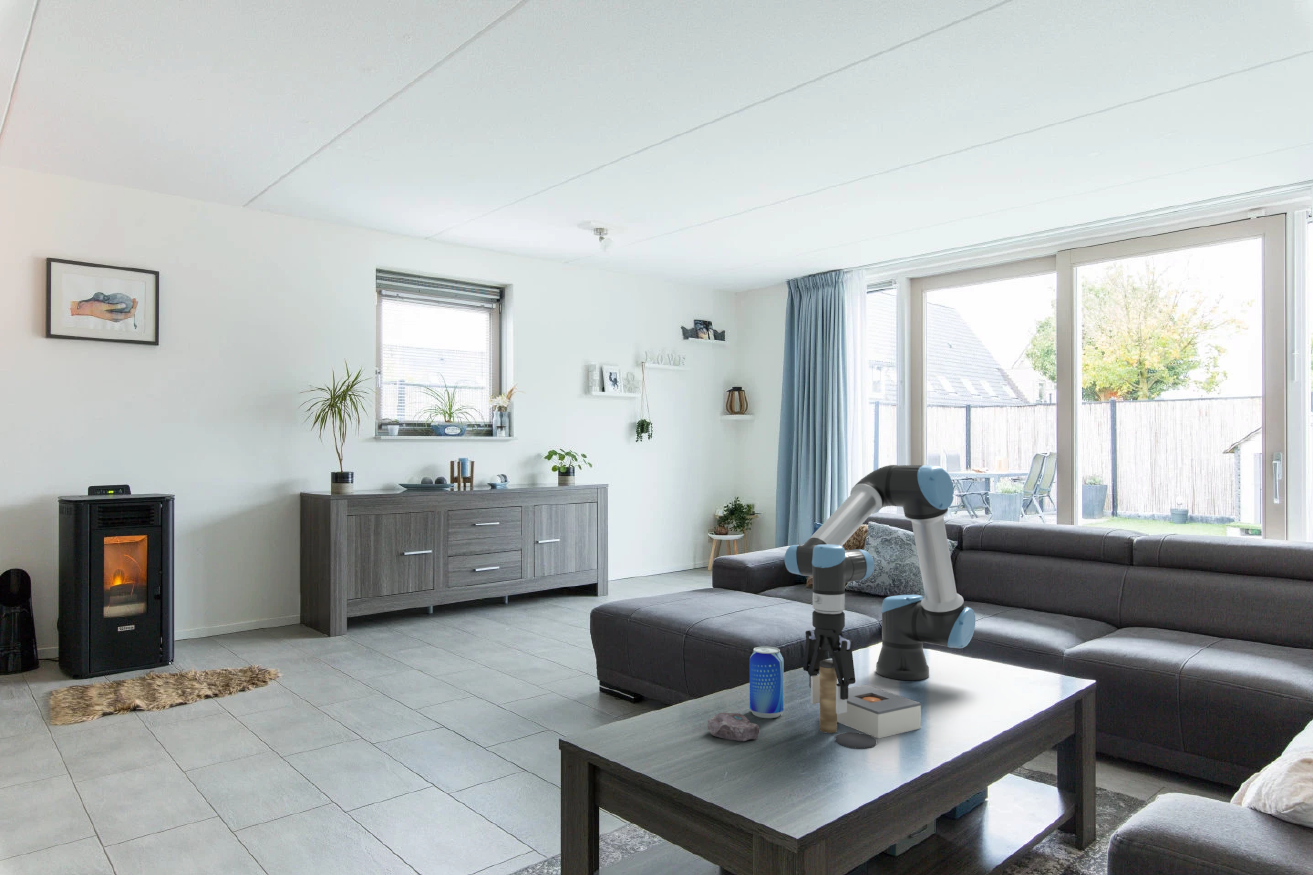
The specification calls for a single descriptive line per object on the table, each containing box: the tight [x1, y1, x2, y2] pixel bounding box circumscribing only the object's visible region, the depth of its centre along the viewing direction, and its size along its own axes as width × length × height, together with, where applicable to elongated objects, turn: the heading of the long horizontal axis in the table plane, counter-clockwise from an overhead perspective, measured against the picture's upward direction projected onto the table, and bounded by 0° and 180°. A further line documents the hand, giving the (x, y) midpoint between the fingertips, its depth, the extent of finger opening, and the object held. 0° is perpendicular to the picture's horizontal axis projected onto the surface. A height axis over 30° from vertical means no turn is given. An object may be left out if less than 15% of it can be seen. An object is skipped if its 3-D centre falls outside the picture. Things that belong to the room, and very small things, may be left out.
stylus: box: [819, 659, 838, 734], centre depth 194 cm, size 4×4×16 cm
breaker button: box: [862, 697, 881, 702], centre depth 200 cm, size 4×4×2 cm
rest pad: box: [835, 731, 877, 750], centre depth 186 cm, size 9×9×1 cm
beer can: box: [749, 646, 785, 719], centre depth 206 cm, size 8×8×16 cm
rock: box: [707, 712, 760, 742], centre depth 190 cm, size 8×11×5 cm
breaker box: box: [837, 684, 922, 739], centre depth 199 cm, size 18×14×6 cm
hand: (828, 707), depth 194 cm, fingers open, 8 cm apart
